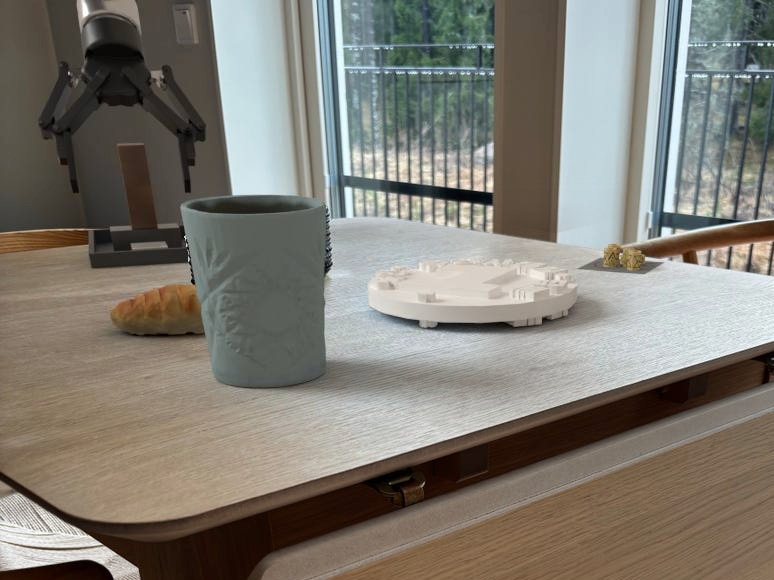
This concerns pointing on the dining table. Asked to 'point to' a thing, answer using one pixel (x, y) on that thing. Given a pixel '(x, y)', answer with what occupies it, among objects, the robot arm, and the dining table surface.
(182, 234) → the tray
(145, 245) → the beige square block
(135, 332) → the pastry
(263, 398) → the dining table surface
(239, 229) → the grey-green embossed cup
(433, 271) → the white round plaque
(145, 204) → the brown grey t-shaped piece
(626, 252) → the dice set
